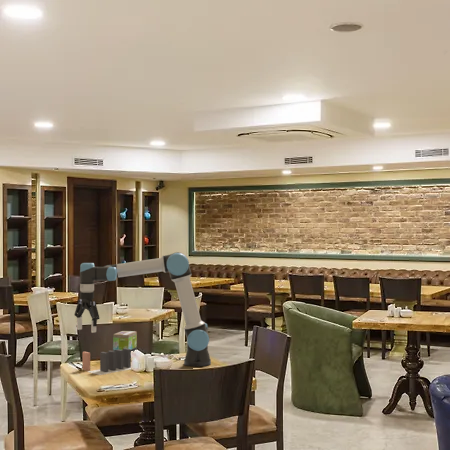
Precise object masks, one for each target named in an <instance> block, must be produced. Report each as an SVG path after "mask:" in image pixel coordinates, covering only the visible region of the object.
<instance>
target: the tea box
mask: <svg viewBox="0 0 450 450" xmlns="http://www.w3.org/2000/svg"><path fill="white" fill-rule="evenodd" d="M137 335H138V332H137V331H135V330H134V331H131V330H122V331H118V332H116V333H113V336H112V337H113V338H112V339H113V340H112V342H113V343H112V351H115V350H117V349H118V350H123V348H127V349H131V351H135V350H137V348H138V346H137V344H138V342H137V341H138V338H137V337H138V336H137Z"/></svg>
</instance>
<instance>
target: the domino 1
mask: <svg viewBox="0 0 450 450" xmlns="http://www.w3.org/2000/svg"><path fill="white" fill-rule="evenodd" d="M82 370H83V371H86V372H88V371H91V352H88V351H82Z"/></svg>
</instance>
